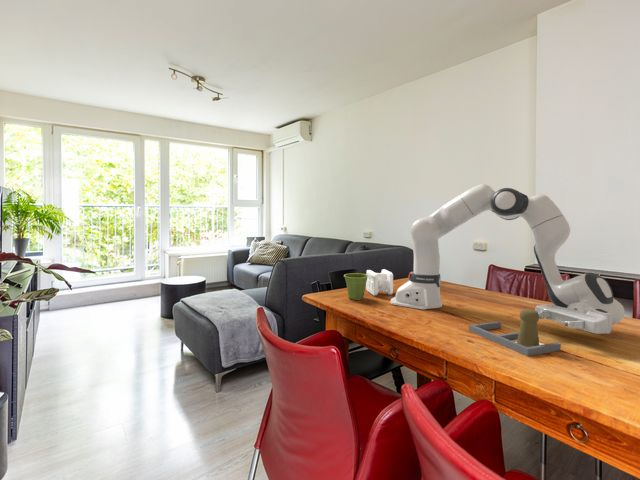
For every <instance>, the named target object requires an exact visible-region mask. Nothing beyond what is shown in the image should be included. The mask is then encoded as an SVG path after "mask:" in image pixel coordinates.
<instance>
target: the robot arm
mask: <svg viewBox="0 0 640 480" xmlns="http://www.w3.org/2000/svg"><path fill="white" fill-rule="evenodd" d="M487 211H491V212H492V213H493V214H495V215H496V216H497V217H499V218H500V219H502V220H506V221H513V220H516V219H518V218H522V219H524V220H525V221H526V223H527V224H528V226H529V228H530V229H531V231H532V233H533V236H534V240H535V241H534V242H535V243H534V246H533V251H534V256H535V259H536V262H537V264H538V267H539V269H540V272H541V275H542V277H543V280H544V282H545V286H546V287H547V294H548V298H549V300H550V301H551V303H552V304H539V305H536V306H535V310H534V311H537V312H538V313H539V320H542V319H543V320H544V319H545V320H548V321H552V322H556V323H559V324H562V325H564V327H566V328H569V329H573V328H574V329H576V330H580V331H586V332H590V333H592V334H603V335H604V334H605V335H609V334H612V329H613V328H612V327H613V325H614V326H615V325H616V324H618V323H620V322H621V321H623V319H624V317H625V313H626V311H625V308H624V306H623V305H622V303H621V302H620V301H618V300H617V299H615V298H614V292H613V290H612V287H611V285H610V283H609V281H607V280H606V279H605V278H604V277H602V276H601V275H599V274H597V273H594V272H588V273H583V274H581V275H577V276H574V277H572V278H569V279H566V280H564V279H563V278H562V276H561V273H560V270H559V268H558V266H557V265H558V264H557V262H556V258H555V257H556V253H557V252H558V250H559V249H560V248H561V247H562V246H563V245H564V244H565V243H566V242H567V240H568V238H569V236H570V233H571V226H570V224H569V221H567V219H566V217H565V215H564V214H563V213H562V211H561V209H560V208H559V207H558V206H557V205H556V203H555V202H554V201H553V200H552V199H551V198H550V197H549V196H547V195H545V194H536V195H532V196H530V197H528V195H527V194H525V193H522V192H520V191H519V190H517V189H514V188H512V187H504V188H500V189H498V190H496V191H495V190H494V189H493V188H492V187H491V186H490V185H488V184H485V183H480V184H478V185H476V186H473V187H471V188H469V189H467V190H465V191H463V192H462V193H460V194H459V195H457V196H456V197H453V198H452V199H450V200H449V201H448V202H446V203H445V204H443V205H441V207H439V208H438V209H437V210H435V211H434V212H432V213H431V214H430V215H428V216H425V217H420V218H418V219H417V220H415V221H414V222H413V223H412V225H411V228H410V234H411V243H412V244H411V246H412V250H413V252H412V253H413V271H411V272H409V273H408V281H406V282H404V283H403V284H402V285H400V286H399V287H398V288H397V290H396V292H395V296H394V297H391V299H390V304H391V305H395V306H400V307H406V308H410V309H411V308H412V309H417V310H428V309H439V308H441V307H443V303H442V298H441V291H440V290H441V289H440V287H441V273H440V265H441V263H440V262H441V261H440V260H441V257H440V255H441V254H440V251H439V250H440V248H439V239H441V238H442V237H444V236H446V234H449V233H450V232H452V231H454V230H455V229H457V228H458V227H459V226H462V225H463V224H465V223H467V222H468V221H470V220H471V219H473V218H475V217H477V216H478V215H480V214H481V213H483V212H487Z"/></svg>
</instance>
